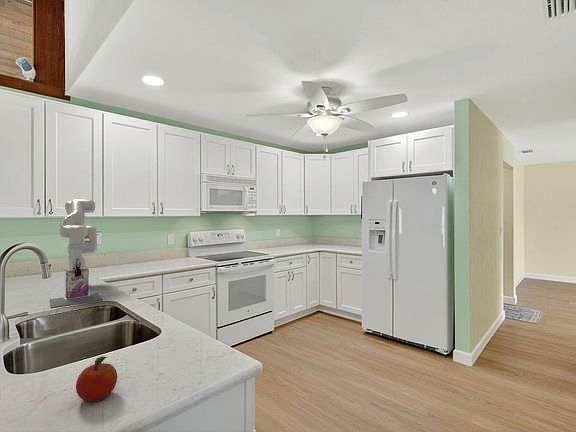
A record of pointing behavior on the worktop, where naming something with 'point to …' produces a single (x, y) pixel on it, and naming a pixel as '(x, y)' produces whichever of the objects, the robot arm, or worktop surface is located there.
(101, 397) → the fruit
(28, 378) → the worktop surface
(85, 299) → the mat
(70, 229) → the robot arm
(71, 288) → the candy bar box
